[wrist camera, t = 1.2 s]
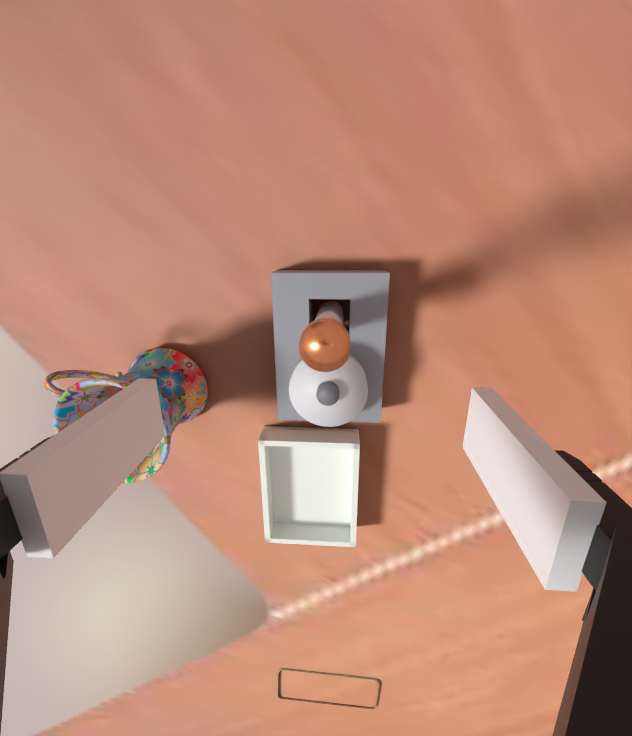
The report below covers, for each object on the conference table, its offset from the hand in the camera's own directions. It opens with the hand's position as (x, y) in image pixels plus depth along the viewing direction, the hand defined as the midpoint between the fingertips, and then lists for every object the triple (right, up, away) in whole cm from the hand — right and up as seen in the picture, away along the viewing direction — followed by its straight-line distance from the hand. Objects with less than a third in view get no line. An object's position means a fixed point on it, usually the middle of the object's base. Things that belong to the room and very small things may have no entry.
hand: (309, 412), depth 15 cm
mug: (-16, +1, +23) cm, 28 cm away
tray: (0, -11, +26) cm, 28 cm away
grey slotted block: (+2, +4, +20) cm, 21 cm away
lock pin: (+2, +7, +19) cm, 21 cm away
